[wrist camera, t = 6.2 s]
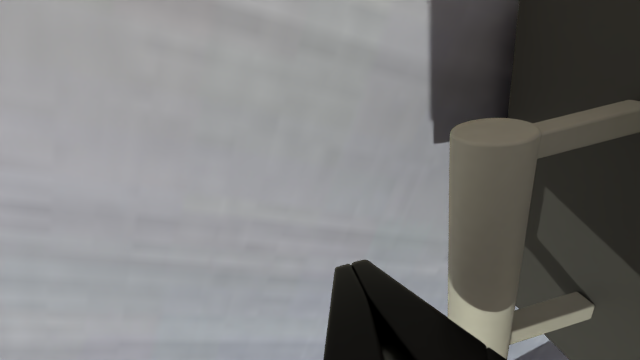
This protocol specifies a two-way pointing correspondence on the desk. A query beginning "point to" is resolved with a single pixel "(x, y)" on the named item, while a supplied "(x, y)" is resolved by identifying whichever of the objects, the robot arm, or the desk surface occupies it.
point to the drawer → (554, 189)
